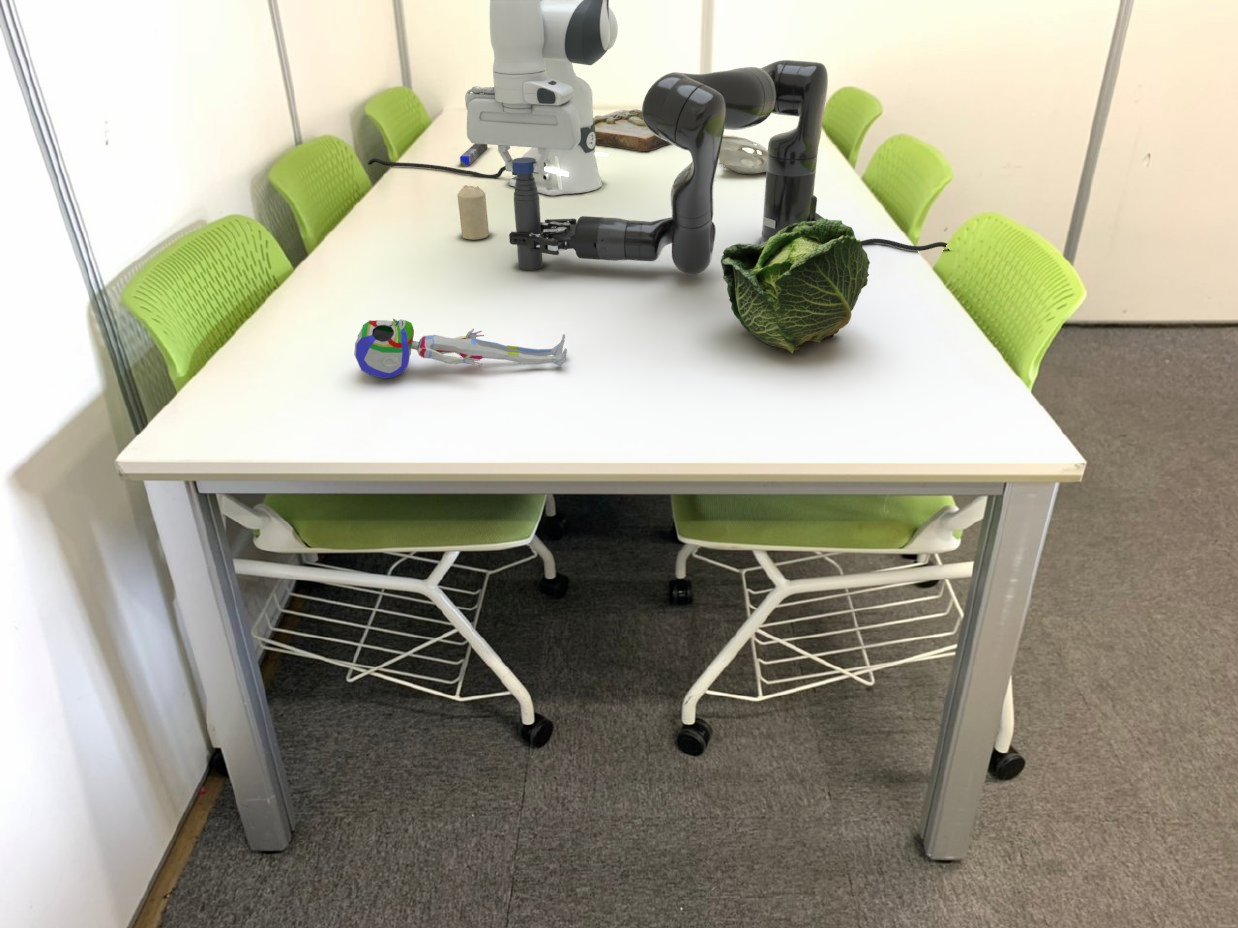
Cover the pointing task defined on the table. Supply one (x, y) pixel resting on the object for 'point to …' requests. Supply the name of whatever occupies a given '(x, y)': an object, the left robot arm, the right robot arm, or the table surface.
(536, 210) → the bottle
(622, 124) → the plaque
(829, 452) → the table surface
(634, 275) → the table surface
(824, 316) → the vegetable
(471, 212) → the candle
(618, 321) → the table surface
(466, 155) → the pillar
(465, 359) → the toy
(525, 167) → the cap
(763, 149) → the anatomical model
